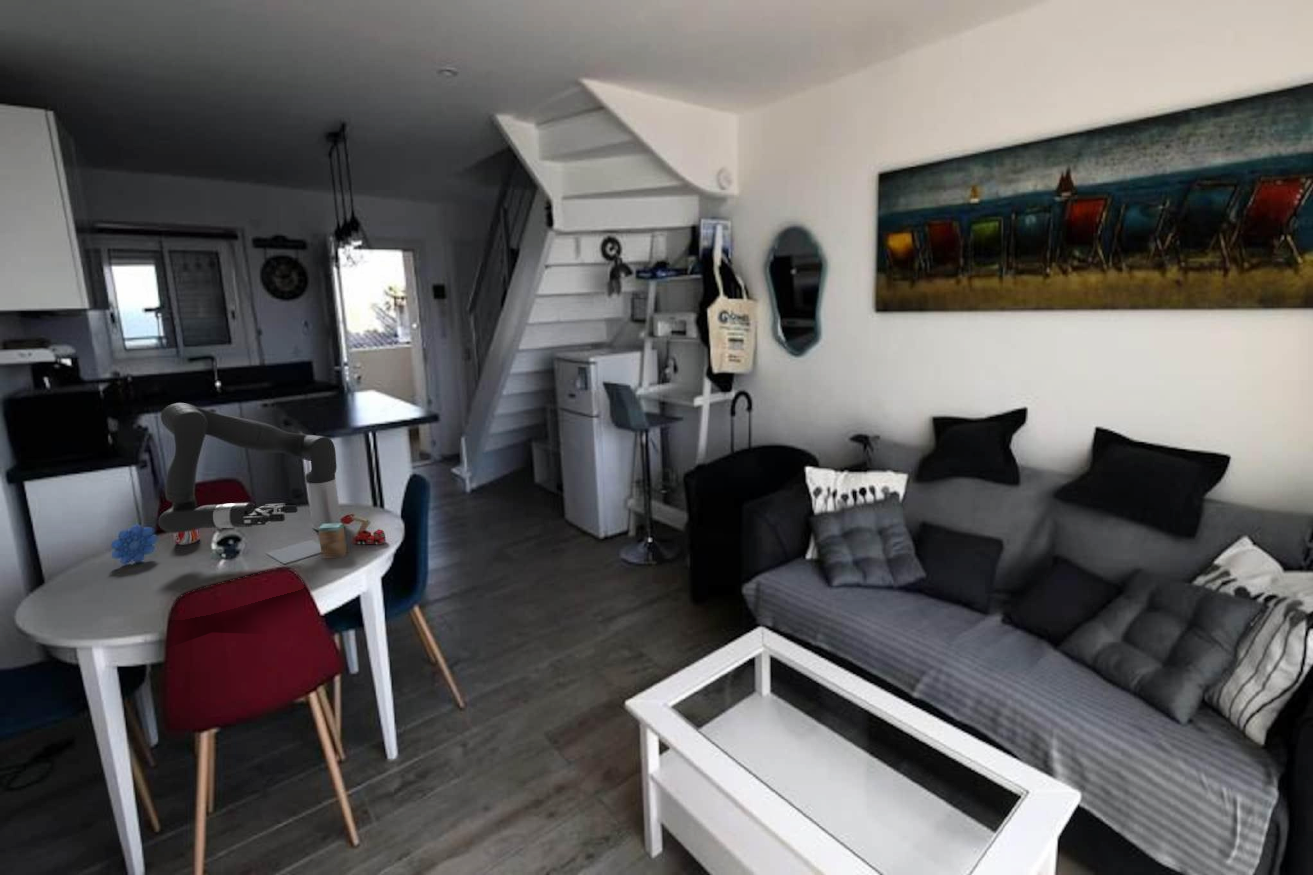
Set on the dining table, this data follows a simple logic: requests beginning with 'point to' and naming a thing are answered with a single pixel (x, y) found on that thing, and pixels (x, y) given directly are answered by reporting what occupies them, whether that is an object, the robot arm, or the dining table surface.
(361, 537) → the toy fire truck
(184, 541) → the soda can
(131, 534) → the blue flower
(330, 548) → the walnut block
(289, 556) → the grey mat
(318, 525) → the robot arm
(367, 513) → the dining table surface
